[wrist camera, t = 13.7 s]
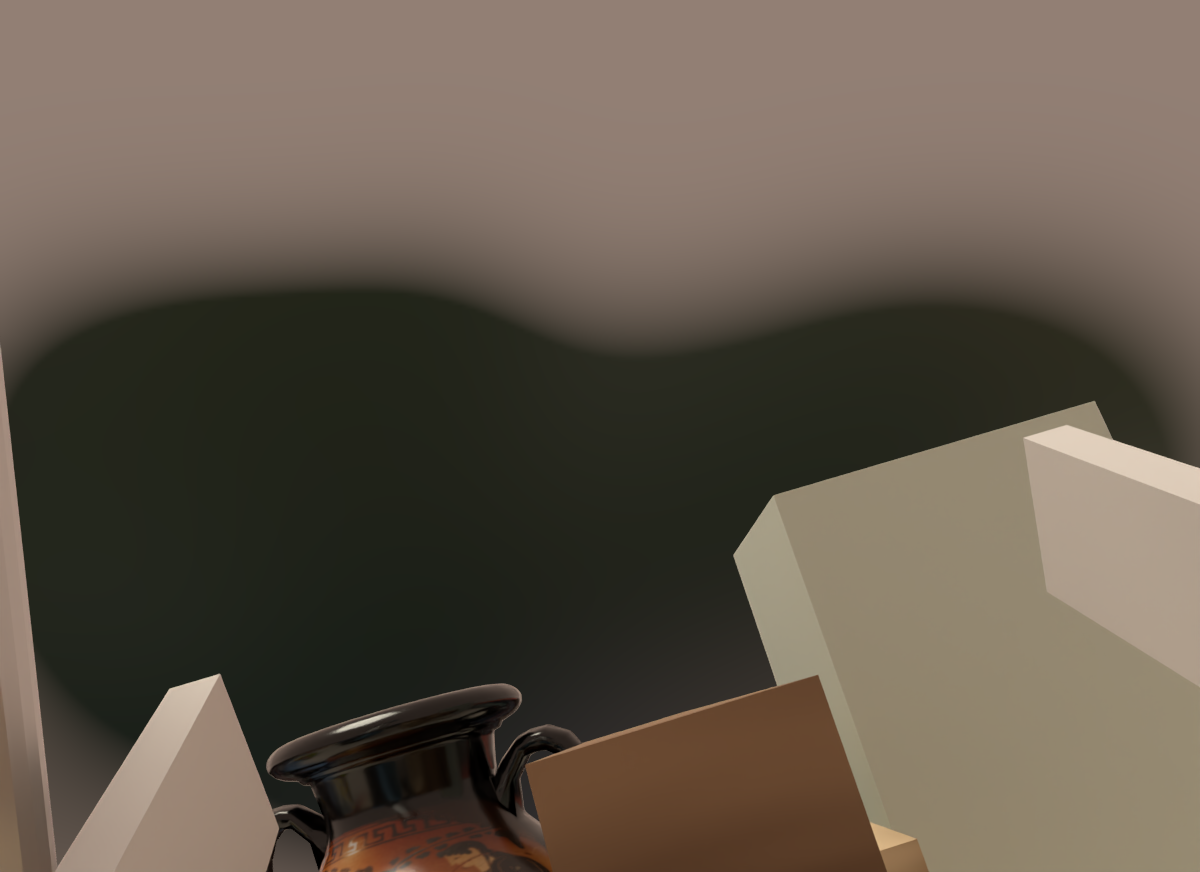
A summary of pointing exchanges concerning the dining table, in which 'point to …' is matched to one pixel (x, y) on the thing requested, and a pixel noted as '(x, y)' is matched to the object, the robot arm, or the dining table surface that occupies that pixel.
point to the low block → (899, 850)
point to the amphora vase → (419, 788)
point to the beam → (710, 793)
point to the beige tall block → (975, 668)
